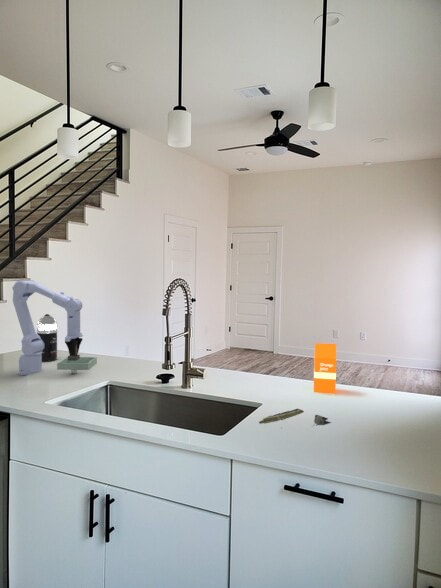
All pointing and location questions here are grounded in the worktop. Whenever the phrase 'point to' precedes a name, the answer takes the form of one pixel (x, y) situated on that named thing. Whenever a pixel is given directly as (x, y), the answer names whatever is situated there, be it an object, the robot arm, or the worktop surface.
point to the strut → (75, 357)
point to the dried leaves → (318, 419)
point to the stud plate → (73, 371)
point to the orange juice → (325, 368)
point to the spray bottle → (48, 337)
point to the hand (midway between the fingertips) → (73, 354)
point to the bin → (77, 363)
